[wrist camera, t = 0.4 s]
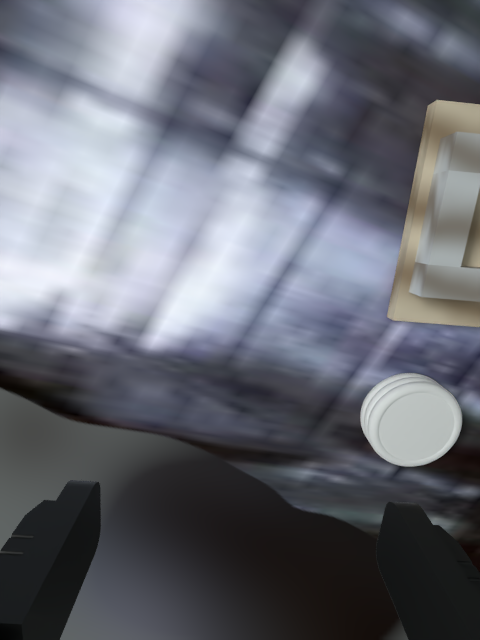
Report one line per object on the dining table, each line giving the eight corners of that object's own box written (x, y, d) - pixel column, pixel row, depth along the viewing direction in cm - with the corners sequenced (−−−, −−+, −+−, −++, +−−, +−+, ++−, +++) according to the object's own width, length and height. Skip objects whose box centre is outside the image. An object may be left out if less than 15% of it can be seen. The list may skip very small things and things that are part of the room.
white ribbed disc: (356, 451, 42) (367, 471, 39) (360, 373, 40) (372, 387, 36) (441, 447, 42) (459, 466, 39) (450, 368, 40) (470, 382, 37)
